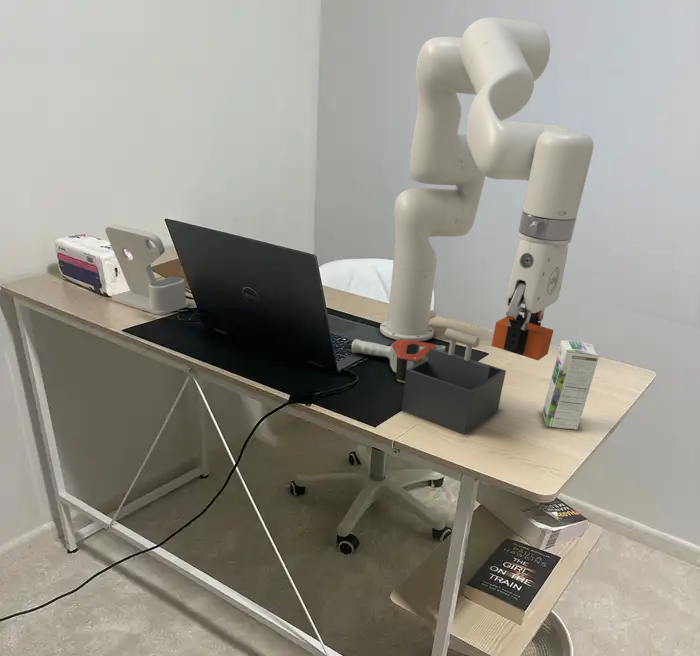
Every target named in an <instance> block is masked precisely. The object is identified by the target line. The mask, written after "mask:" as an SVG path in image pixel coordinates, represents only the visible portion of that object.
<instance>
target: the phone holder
mask: <svg viewBox="0 0 700 656" xmlns="http://www.w3.org/2000/svg"><path fill="white" fill-rule="evenodd" d="M105 234H106V237H107V239H108V242H109V244H110V246H111V248H112V251H113V253H114V256H115V258H116V261H117V263H118V265H119V268H120V270H121V272H122V274H123V277H124V279H125V283H126V284H127V286H128V289H129V290H128V291H124V292H121V293H117V294H113V295H111V301H112V302H116V303H119V304H123V305H125V306H129V307H132V308H136V309H138V310H141V311H145V312H147V313H151V314H154V315H159V316H160V315H166V314H169V313H173V312H176V311H179V310H182V309H184V308H186V307H187V308H188V307H189V302H188V301H187V297H186V281H185V279H184V278H183V277H178V276H171V277H166V278H163V279H159V280H157V279H156V277H155V274H154V273H155V272H154V271H153V268H152V264H153V263H154V262H156V260H157V259H158V258H159V257H161V256H162V255H163V254H164V253H165V250H166V249H165V246H164V243H163V241H162V240H161V238H160V237H159V235H157V234H155V233H153V232H149V231H145V230H141V229H137V228H133V227H127V226H125V225H121V224H116V223H111V224H110V225H108V226H106V227H105ZM152 243H153V244H152ZM125 250H127V251H128V252H129V253H130V254H131V256H132V259H130V258H129V255H128V254H126V252H125Z"/></svg>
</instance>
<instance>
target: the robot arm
mask: <svg viewBox="0 0 700 656" xmlns="http://www.w3.org/2000/svg"><path fill="white" fill-rule="evenodd" d="M550 54H551V43H550V38H549V34H548V32H547V30H546V29H545V27H544V26H542V24H540V23H538V22H535V21H530V20H521V19H513V18H502V17H483V18H480V19H477V20H475V21H474V22H472V23H471V24H470V25H468V27H467V28H466V29H465V30H464V32H463V34H462V36H460V37H459V36H435V37H432V38H430V39H428V40H426V41H425V42H424V43H423V44H422V46H421V48H420V49H419V53H418V55H417V59H416V66H415V82H416V93H417V111H416V118H415V124H414V130H413V136H412V143H411V147H410V155H409V163H408V164H409V165H408V168H409V174H410V177H411V179H412V180H413V181H415V182H416V183H420V184H423V185H424V184H425V185H436V186H438V185H439V186H455V187H454V189H451V188H450V189H448V188H435V187H433V188H429V187H428V188H427V187H417V188H416V187H415V188H408V189H405V190H404V191H402V192H400V194H398V196H397V197H396V199H395V202H394V206H393V218H394V251H393V261H392V272H391V279H390V280H391V281H390V290H389V291H390V292H389V300H388V301H389V302H388V311H387V312H388V313H387V320H385V321H383V322H382V323H380V325H379V332H380V333H381V334H382V336H384V337H387V338H388V339H391V340H395V341H396V340H398V339H404V340H411V341H418V342H426V341H428V340H431V339H433V337H434V333H435V330H434V328H433V327H432V326H431V325H429V321H430V320H432V319H434V318H436V317H437V312H436V311H435V310H434V309H431V306H432V298H433V293H434V285H435V278H436V277H435V276H436V270H437V261H438V260H437V253H436V251H435V249H434V248H433V246H432V245H431V243H430V240H429V239H430V238H433V237H447V238H449V237H452V238H453V237H463V236H466V235H467V234H469V233H470V231H471V230H472V228H473V226H474V223H475V220H476V216H477V212H478V208H479V204H480V201H481V196H482V192H483V188H484V184H485V180H486V177H487V178H489V179H493V180H511V181H512V180H514V181H515V180H516V181H520V180H521V181H527V187H526V193H525V197H524V201H523V206H522V207H523V208H522V211H521V217H520V222H519V227H518V231H517V236H518V237H519V238H520V240H519V243H518V247H517V250H516V253H515V257H514V261H513V265H512V268H511V271H510V277H509V280H508V285H507V289H506V290H507V291H506V297H505V303H506V305H507V306H508V307H507V309H506V312H505V315H506V317H508V318H509V321H508V329H507V334H506V339H505V344H504V350H503V351H507V352H510V353H513V354H516V355H519V356H522V354H523V353H524V350H525V346H526V341H527V337H528V333H529V330H527V327H528V323H531V324H534V325H538V326H541V327H542V321H543V319H544V314H545V309H546V308H547V307H550V306H551V305H553V304H554V303H556V302H557V301H558V299H559V297H560V293H561V288H562V285H563V279H564V273H565V269H566V264H567V263H566V262H567V256H568V249H569V244H570V243H571V242H572V238H573V234H574V230H575V226H576V221H577V217H578V213H579V210H580V209H579V208H580V206H581V205H580V204H581V202H582V197H583V194H584V189H585V186H586V185H585V184H586V181H587V176H588V174H589V173H588V172H589V169H590V165H591V161H592V156H593V152H594V147H595V146H594V140H593V138H592V137H591V136H590V135H588V134H586V133H583V132H578V131H572V130H571V129H569V128H568V127H566V126H563V125H559V124H551V123H549V124H548V123H538V122H527V121H525V122H524V121H505V120H507V119H509V118H511V117H513V116H514V115H516V114H518V113H519V112H520V111H522V109H523V108H525V106H527V104H528V102H529V101H530V100H531V97H532V95H533V92H534V88H535V81H537V80H538V79H539V78H540V77H541V76H542V75H543V74H544V72H545V70H546V69H547V66H548V63H549V60H550ZM458 94H466V95H475V97H474V98H473V100H472V102H471V105H470V108H469V110H468V113H467V119H466V129H465V130H466V131H465V132H466V134H464V133H463V134H461V133H459V127H460V124H461V123H460V122H461V118H462V105H461V102H460V98H459V96H458ZM522 304H523V305H525V306H522ZM521 313H523V315H522V314H521Z"/></svg>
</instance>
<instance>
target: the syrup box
mask: <svg viewBox="0 0 700 656" xmlns="http://www.w3.org/2000/svg"><path fill="white" fill-rule="evenodd" d="M599 359H600V355H599V353H598V352H597V349H596V348H595V346H594V344H592V343H589V342H586V341H585V342H584V341H580V340H579V341H578V340H561V341H560V344H559V349H558V353H557V356H556V360H555V364H554V367H553V370H552V375H551V378H550V381H549V385H548V389H547V393H546V396H545V399H544V404H543V408H542V413H541V414H542V418H543V420H544V423H545V426H546V427H549V428H558V429H566V430H567V429H568V430H578V429H579V425H580V423H581V418H582V415H583V412H584V409H585V405H586V401H587V398H588V396H589V391H590V388H591V386H592V382H593V378H594V375H595V373H596V368H597V364H598V361H599Z"/></svg>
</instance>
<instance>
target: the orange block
mask: <svg viewBox="0 0 700 656" xmlns="http://www.w3.org/2000/svg"><path fill="white" fill-rule="evenodd" d="M508 321H509V318H508V317H507V316H505V317H503V318H500V319H499V320H497V321H495V325H494V331H493V335H492V339H491V340H492V341H491V347H493V348H497V349H500V350H503V351H505V350H504V344H505V339H506V334H507V329H508ZM527 330H529V333H528V337H527V341H526V346H525V350H524V353H523V354H522V355H521V357H526V358H529V359H531V360H534V361H540V360H541V359H543V358H544V357H546V356H547V355H548V354H549V350H550V345H551V342H552V338H553V334H554V329H551V328H548V327H544V326H542V325H541V326H538V325H534V324H531V323H528V327H527Z"/></svg>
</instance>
